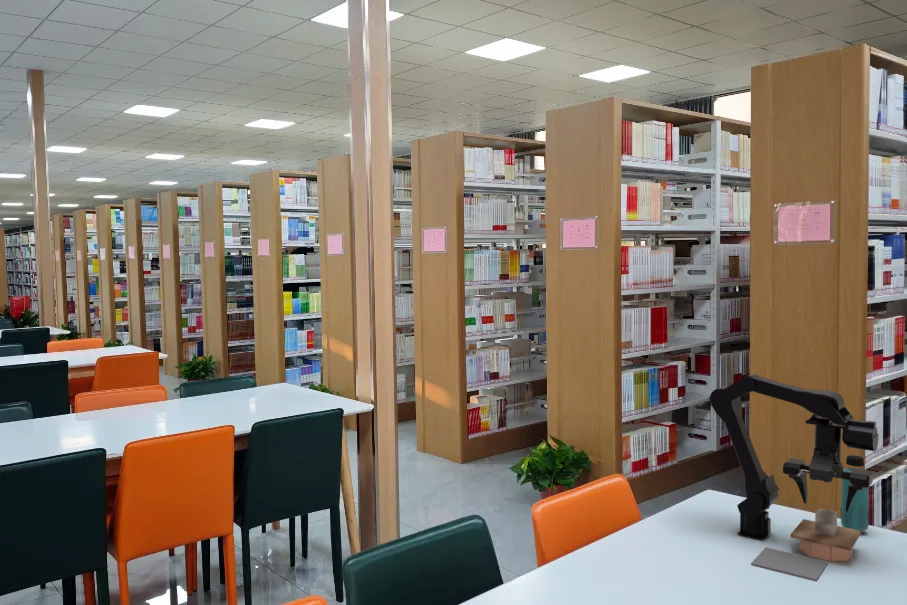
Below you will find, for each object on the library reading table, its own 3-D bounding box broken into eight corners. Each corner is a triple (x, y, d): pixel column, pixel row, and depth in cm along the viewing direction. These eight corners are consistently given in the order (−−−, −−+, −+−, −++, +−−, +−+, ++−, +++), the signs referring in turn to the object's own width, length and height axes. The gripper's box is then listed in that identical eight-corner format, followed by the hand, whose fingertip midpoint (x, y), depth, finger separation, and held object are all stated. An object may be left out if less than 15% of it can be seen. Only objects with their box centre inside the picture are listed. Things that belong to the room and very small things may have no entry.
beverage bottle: (872, 537, 182) (874, 460, 181) (844, 535, 183) (846, 459, 182) (863, 527, 188) (864, 453, 187) (836, 526, 189) (837, 452, 188)
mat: (750, 564, 165) (750, 563, 165) (765, 548, 175) (765, 547, 175) (816, 581, 157) (816, 579, 157) (828, 563, 166) (828, 561, 166)
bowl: (796, 553, 172) (796, 537, 172) (806, 539, 180) (806, 524, 180) (846, 564, 165) (846, 548, 165) (854, 550, 173) (855, 534, 173)
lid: (790, 537, 171) (790, 514, 171) (803, 522, 182) (803, 500, 181) (850, 550, 163) (851, 526, 163) (860, 533, 173) (861, 510, 173)
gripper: (777, 444, 171) (776, 507, 172) (865, 457, 159) (863, 525, 160) (789, 435, 180) (788, 496, 180) (874, 447, 168) (872, 512, 169)
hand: (825, 507), depth 172 cm, fingers open, 9 cm apart
